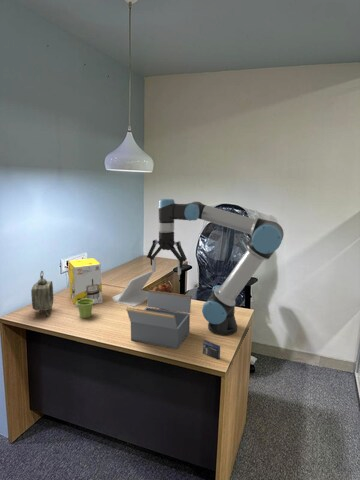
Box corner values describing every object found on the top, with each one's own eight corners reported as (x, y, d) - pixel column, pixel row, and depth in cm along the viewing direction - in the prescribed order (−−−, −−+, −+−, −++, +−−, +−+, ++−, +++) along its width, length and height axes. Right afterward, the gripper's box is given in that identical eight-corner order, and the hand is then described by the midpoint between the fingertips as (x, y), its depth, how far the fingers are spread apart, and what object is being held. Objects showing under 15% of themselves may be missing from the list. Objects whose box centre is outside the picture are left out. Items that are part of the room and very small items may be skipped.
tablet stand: (157, 294, 223) (157, 270, 220) (135, 307, 202) (134, 280, 198) (135, 289, 232) (135, 266, 229) (111, 301, 210) (111, 275, 207)
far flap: (189, 313, 168) (190, 312, 169) (191, 295, 168) (191, 295, 169) (147, 306, 176) (147, 306, 177) (148, 290, 176) (149, 290, 177)
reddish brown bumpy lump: (164, 304, 206) (164, 280, 203) (174, 307, 201) (174, 283, 198) (147, 311, 195) (147, 286, 192) (157, 315, 190) (157, 290, 187)
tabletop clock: (50, 317, 185) (47, 274, 180) (32, 318, 183) (29, 275, 179) (54, 307, 199) (51, 267, 194) (38, 308, 197) (35, 268, 193)
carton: (189, 332, 170) (189, 313, 168) (177, 349, 153) (177, 329, 151) (146, 324, 178) (146, 307, 176) (131, 340, 161) (130, 321, 159)
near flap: (174, 314, 146) (173, 316, 145) (177, 328, 151) (176, 330, 150) (127, 307, 154) (126, 309, 153) (131, 320, 159) (129, 322, 158)
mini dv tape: (202, 353, 150) (202, 341, 149) (204, 352, 151) (204, 340, 150) (218, 359, 145) (218, 347, 144) (219, 358, 146) (220, 346, 145)
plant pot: (97, 314, 190) (97, 300, 188) (86, 321, 182) (85, 306, 180) (85, 311, 194) (85, 297, 192) (73, 317, 186) (72, 302, 184)
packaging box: (75, 307, 200) (73, 267, 195) (70, 298, 214) (68, 261, 209) (102, 302, 208) (100, 264, 203) (95, 294, 222) (93, 258, 217)
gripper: (193, 231, 161) (192, 273, 165) (146, 228, 169) (147, 268, 173) (188, 233, 154) (187, 277, 158) (139, 230, 162) (140, 272, 166)
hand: (166, 273), depth 165 cm, fingers open, 13 cm apart
